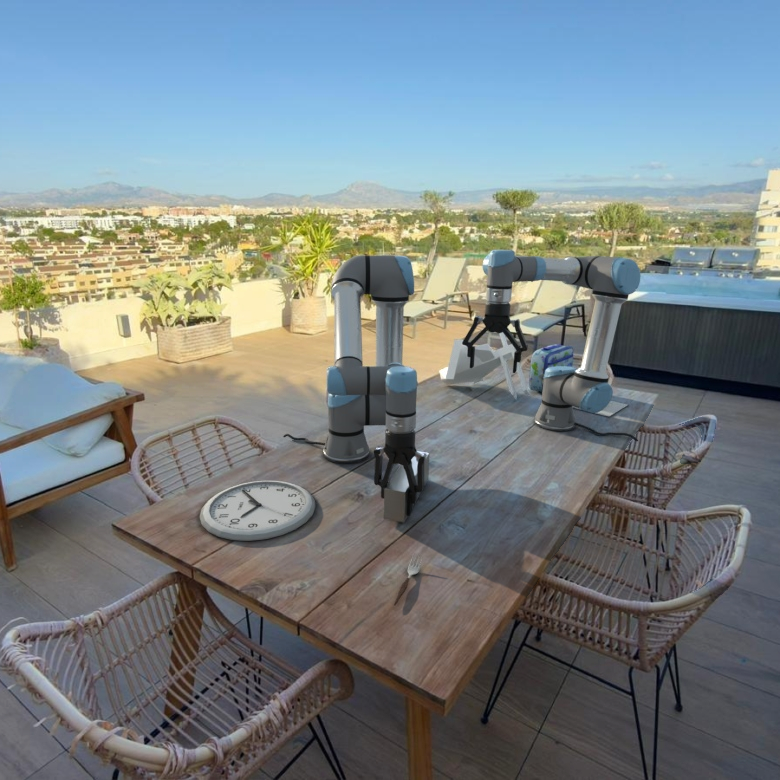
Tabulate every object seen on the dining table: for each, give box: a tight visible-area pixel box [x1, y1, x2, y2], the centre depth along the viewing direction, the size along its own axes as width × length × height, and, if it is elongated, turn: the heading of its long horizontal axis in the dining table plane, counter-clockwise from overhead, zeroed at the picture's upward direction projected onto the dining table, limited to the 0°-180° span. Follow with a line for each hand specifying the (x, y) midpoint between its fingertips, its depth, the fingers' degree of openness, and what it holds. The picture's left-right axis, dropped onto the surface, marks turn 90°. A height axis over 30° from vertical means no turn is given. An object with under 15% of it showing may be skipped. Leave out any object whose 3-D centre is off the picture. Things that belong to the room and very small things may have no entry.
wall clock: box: [199, 480, 316, 542], centre depth 140 cm, size 30×2×30 cm
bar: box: [383, 450, 430, 523], centre depth 144 cm, size 25×6×9 cm, turn 162°
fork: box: [393, 553, 424, 606], centre depth 112 cm, size 3×16×2 cm, turn 160°
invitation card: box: [573, 400, 629, 418], centre depth 226 cm, size 21×1×15 cm
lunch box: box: [528, 344, 574, 393], centre depth 247 cm, size 26×11×21 cm, turn 134°
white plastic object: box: [438, 332, 531, 400], centre depth 245 cm, size 37×45×31 cm
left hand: (398, 511), depth 137 cm, fingers closed on bar, 5 cm apart
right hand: (492, 369), depth 165 cm, fingers open, 13 cm apart
